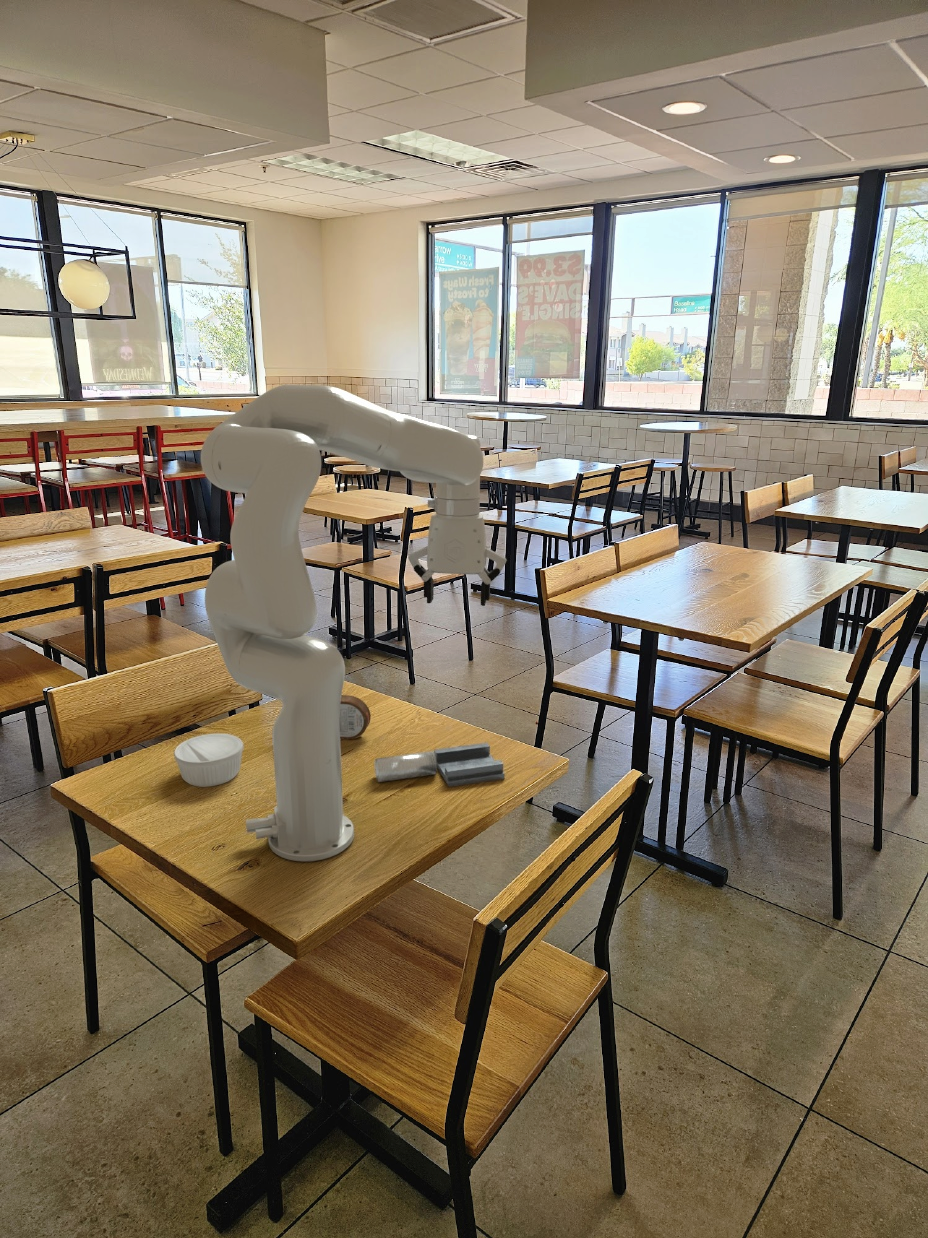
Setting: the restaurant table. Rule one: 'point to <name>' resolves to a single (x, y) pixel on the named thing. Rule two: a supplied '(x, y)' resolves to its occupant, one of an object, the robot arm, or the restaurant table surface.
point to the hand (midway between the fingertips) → (456, 602)
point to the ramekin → (209, 759)
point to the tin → (353, 717)
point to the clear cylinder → (405, 766)
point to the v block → (468, 764)
